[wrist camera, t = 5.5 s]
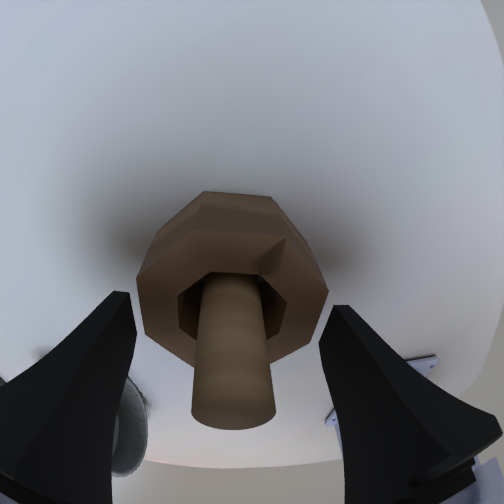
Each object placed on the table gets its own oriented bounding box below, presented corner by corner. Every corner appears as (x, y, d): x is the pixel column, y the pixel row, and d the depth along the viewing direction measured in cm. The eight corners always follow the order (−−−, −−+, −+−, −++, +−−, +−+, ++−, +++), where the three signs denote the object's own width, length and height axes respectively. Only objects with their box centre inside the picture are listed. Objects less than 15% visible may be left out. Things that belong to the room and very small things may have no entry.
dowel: (250, 282, 14) (265, 430, 7) (204, 276, 13) (190, 426, 7) (259, 242, 13) (286, 396, 6) (209, 235, 12) (192, 391, 6)
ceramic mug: (33, 351, 16) (1, 430, 10) (108, 350, 16) (79, 456, 9) (99, 417, 22) (87, 481, 15) (170, 420, 21) (165, 495, 15)
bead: (286, 318, 15) (298, 370, 12) (163, 310, 14) (151, 363, 11) (316, 202, 12) (344, 242, 9) (157, 188, 11) (130, 226, 8)
